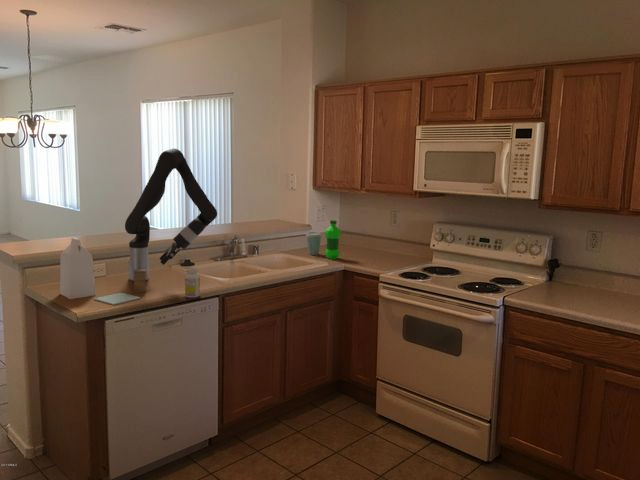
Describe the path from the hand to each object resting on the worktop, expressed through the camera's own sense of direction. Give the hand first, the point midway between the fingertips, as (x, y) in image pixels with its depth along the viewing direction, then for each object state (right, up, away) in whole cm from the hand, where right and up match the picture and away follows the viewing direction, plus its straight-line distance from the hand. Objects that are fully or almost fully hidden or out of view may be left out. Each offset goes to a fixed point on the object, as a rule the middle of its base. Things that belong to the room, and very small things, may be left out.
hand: (161, 261), depth 257 cm
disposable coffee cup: (+72, 0, +110) cm, 131 cm away
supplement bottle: (+17, -16, -8) cm, 25 cm away
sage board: (-14, -16, -17) cm, 28 cm away
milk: (-35, -15, -10) cm, 40 cm away
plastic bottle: (+84, -2, +96) cm, 128 cm away
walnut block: (-10, -14, -1) cm, 17 cm away
